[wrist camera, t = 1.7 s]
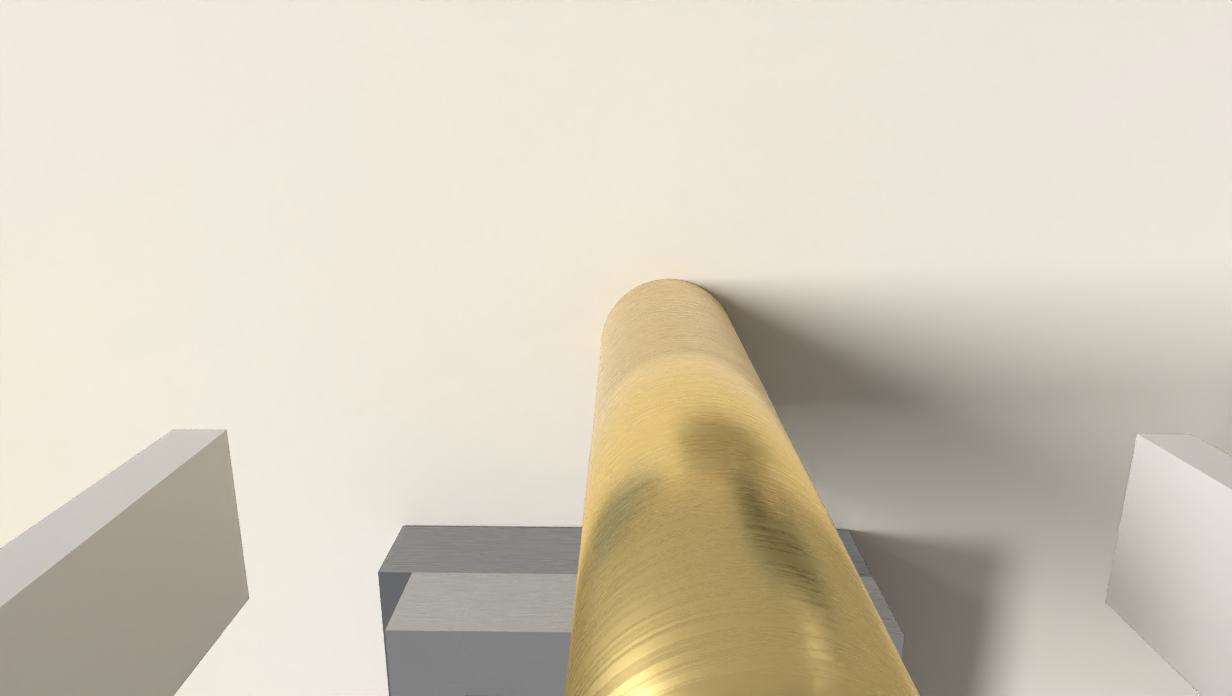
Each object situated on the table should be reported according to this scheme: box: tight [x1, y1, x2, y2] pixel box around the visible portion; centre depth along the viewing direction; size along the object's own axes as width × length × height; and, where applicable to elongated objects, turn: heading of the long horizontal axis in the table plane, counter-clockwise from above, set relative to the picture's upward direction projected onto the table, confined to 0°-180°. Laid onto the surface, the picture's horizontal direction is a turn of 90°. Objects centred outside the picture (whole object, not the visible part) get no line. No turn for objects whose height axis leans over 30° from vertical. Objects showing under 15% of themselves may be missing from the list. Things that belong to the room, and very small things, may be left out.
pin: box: [565, 279, 920, 696], centre depth 13 cm, size 3×3×14 cm
